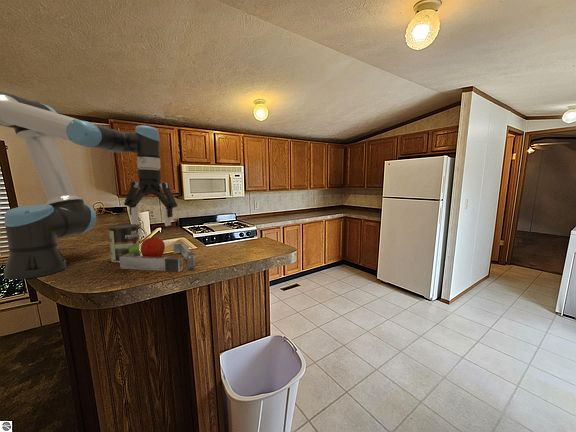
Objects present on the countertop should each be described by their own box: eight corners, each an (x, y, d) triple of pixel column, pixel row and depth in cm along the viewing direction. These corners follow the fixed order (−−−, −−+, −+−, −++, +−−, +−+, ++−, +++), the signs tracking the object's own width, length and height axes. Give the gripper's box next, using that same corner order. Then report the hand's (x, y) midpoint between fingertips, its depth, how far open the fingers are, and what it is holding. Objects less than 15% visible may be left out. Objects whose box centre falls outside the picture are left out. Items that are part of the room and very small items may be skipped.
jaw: (195, 265, 93) (194, 254, 92) (183, 267, 90) (182, 256, 90) (183, 251, 112) (183, 242, 111) (173, 252, 109) (173, 243, 109)
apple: (168, 264, 94) (167, 237, 93) (143, 269, 89) (142, 240, 87) (162, 259, 101) (161, 234, 99) (139, 263, 95) (137, 236, 94)
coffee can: (146, 256, 104) (144, 224, 102) (125, 263, 94) (123, 228, 92) (126, 254, 106) (123, 223, 104) (104, 261, 96) (101, 227, 94)
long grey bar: (195, 268, 90) (195, 255, 90) (189, 272, 86) (188, 259, 85) (129, 264, 93) (128, 252, 92) (120, 268, 89) (119, 255, 88)
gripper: (110, 167, 87) (114, 224, 90) (174, 169, 85) (176, 228, 88) (126, 169, 95) (129, 221, 97) (185, 170, 92) (187, 224, 95)
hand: (151, 224), depth 92 cm, fingers open, 13 cm apart
